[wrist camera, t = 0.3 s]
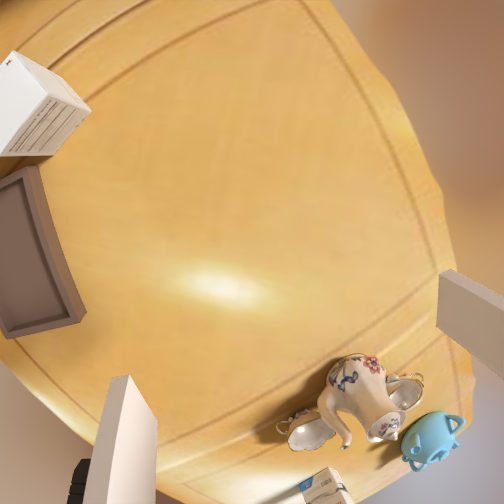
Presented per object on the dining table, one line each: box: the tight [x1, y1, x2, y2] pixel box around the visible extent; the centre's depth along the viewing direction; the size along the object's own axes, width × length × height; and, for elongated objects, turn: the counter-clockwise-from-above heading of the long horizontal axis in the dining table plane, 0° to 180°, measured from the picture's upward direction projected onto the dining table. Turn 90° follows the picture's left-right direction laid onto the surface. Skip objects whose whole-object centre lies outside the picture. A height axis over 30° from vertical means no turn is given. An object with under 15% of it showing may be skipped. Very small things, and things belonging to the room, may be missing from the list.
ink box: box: [299, 467, 354, 504], centre depth 51 cm, size 8×5×12 cm, turn 130°
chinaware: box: [276, 353, 424, 451], centre depth 41 cm, size 28×17×17 cm, turn 106°
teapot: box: [401, 411, 466, 472], centre depth 53 cm, size 15×17×11 cm
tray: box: [0, 165, 87, 340], centre depth 31 cm, size 20×14×3 cm
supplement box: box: [0, 51, 92, 157], centre depth 23 cm, size 7×7×13 cm
